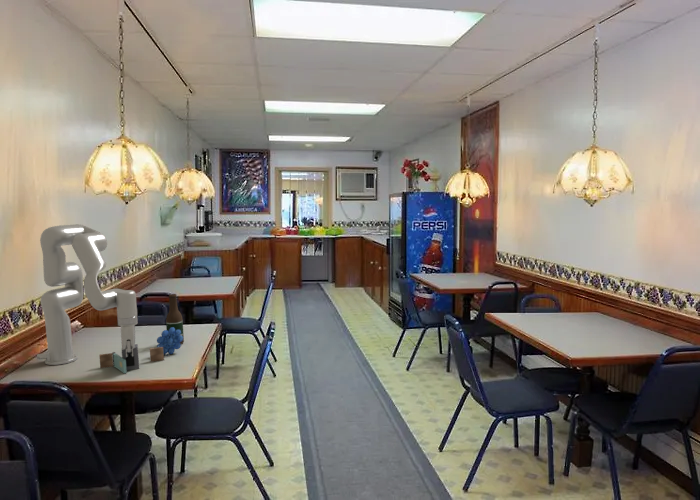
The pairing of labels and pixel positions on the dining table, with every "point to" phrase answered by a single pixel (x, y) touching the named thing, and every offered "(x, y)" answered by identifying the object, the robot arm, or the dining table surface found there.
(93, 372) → the dining table surface
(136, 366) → the doorstop block
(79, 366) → the dining table surface
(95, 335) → the dining table surface
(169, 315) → the beer bottle
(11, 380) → the dining table surface
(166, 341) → the grapes
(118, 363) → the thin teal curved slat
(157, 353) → the brown wooden block
